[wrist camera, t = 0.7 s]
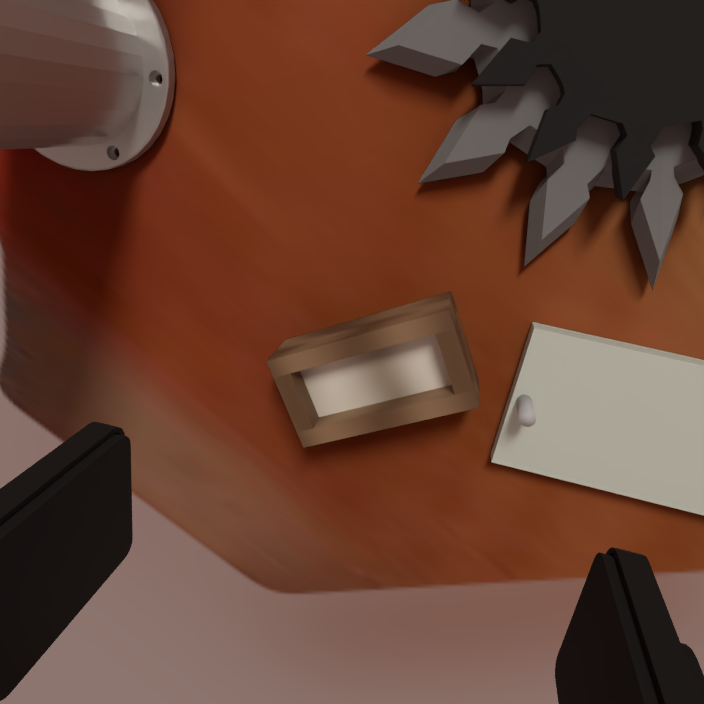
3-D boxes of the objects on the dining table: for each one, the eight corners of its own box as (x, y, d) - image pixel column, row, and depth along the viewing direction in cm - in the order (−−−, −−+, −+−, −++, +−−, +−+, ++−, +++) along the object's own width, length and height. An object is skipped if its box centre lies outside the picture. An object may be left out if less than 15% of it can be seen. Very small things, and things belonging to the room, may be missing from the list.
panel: (490, 452, 40) (492, 482, 37) (532, 321, 36) (538, 341, 33) (726, 511, 38) (751, 549, 35) (797, 380, 34) (833, 408, 31)
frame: (317, 419, 42) (303, 447, 38) (285, 340, 40) (266, 361, 36) (478, 380, 38) (479, 407, 34) (451, 291, 36) (449, 309, 33)
